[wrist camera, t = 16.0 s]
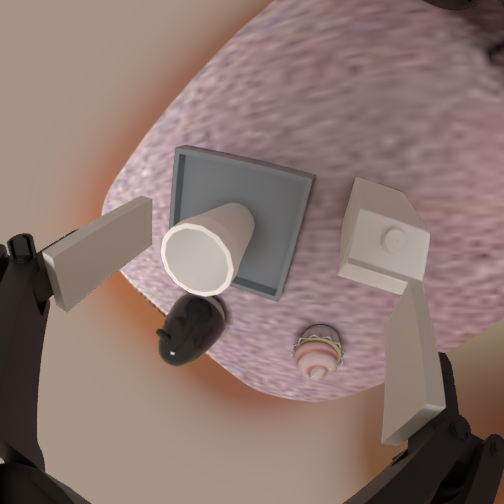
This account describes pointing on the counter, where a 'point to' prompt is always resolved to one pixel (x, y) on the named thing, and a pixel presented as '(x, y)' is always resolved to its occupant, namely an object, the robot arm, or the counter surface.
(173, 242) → the foam cup
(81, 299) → the robot arm
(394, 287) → the milk carton
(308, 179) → the tray
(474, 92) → the counter surface
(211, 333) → the pump dispenser
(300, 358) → the cupcake
